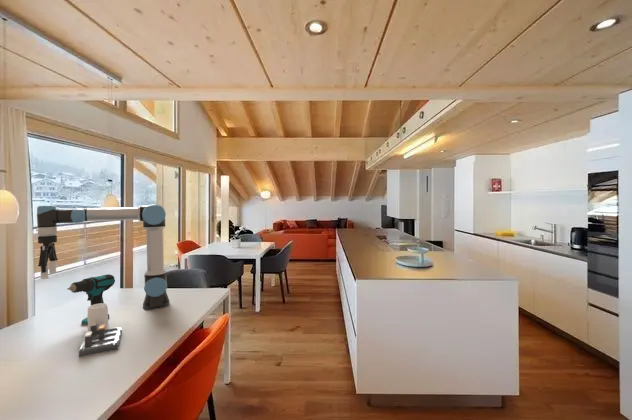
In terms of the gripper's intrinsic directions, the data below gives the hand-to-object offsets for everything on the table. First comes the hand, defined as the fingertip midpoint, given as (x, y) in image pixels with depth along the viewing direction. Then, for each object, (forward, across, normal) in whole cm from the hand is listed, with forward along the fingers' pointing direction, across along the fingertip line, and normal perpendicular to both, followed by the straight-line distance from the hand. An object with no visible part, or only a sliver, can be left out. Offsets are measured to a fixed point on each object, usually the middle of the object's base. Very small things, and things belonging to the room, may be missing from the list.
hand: (48, 275), depth 160 cm
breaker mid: (+25, +34, +27) cm, 50 cm away
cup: (+28, +19, +23) cm, 41 cm away
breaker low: (+25, +27, +23) cm, 43 cm away
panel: (+28, +34, +27) cm, 51 cm away
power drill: (+28, 0, +18) cm, 33 cm away
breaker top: (+25, +40, +23) cm, 53 cm away
